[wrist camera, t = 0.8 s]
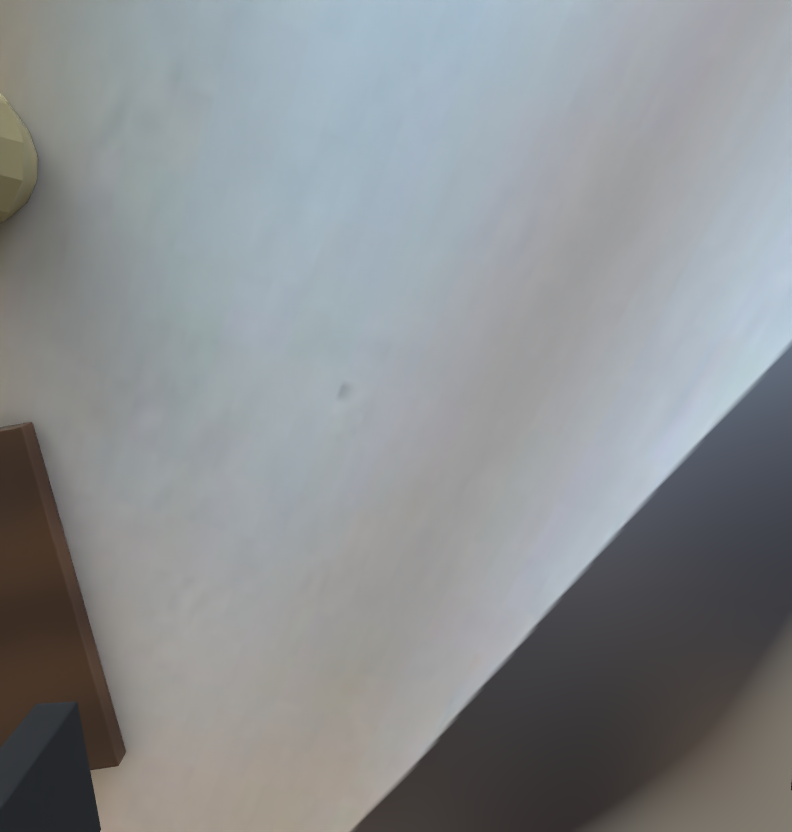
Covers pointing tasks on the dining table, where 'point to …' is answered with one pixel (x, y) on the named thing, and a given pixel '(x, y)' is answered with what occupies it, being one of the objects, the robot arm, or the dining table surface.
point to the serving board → (45, 608)
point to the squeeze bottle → (15, 162)
